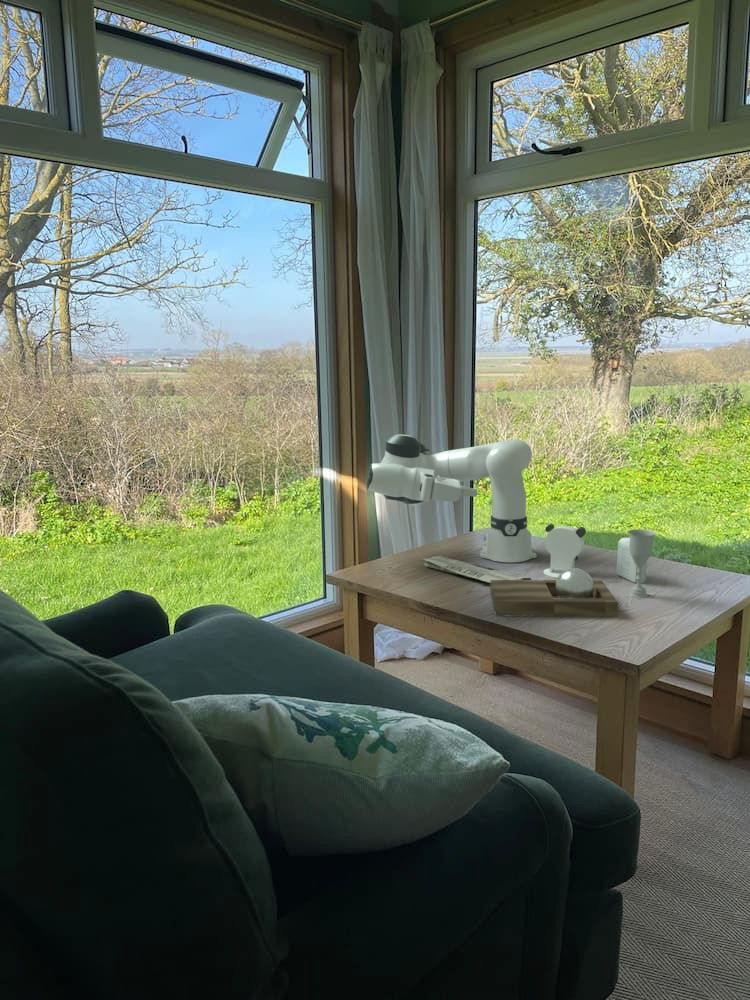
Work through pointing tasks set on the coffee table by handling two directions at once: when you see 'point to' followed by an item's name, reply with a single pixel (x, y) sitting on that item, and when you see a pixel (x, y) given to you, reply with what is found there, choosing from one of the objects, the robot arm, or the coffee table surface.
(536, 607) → the brown slotted slab
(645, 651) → the coffee table surface
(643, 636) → the coffee table surface
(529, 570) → the coffee table surface
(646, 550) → the chalice
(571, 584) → the steel ball
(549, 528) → the panda figurine
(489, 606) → the coffee table surface
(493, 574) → the newspaper
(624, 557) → the white rounded block
